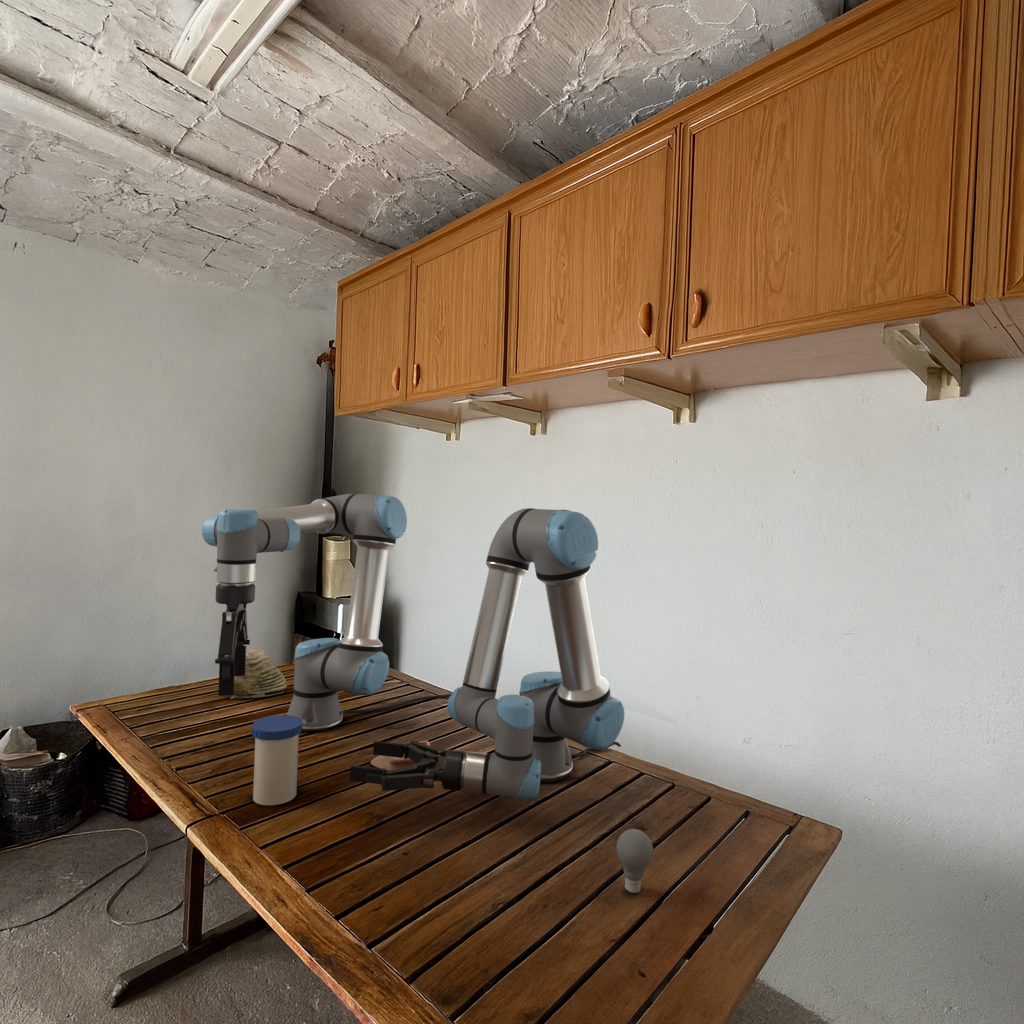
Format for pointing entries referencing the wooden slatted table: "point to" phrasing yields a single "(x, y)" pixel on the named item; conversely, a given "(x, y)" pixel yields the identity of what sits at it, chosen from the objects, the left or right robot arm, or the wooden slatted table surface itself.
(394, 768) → the anatomical model
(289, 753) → the jar
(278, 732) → the lid
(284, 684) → the fossil
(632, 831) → the light bulb
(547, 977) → the wooden slatted table surface
